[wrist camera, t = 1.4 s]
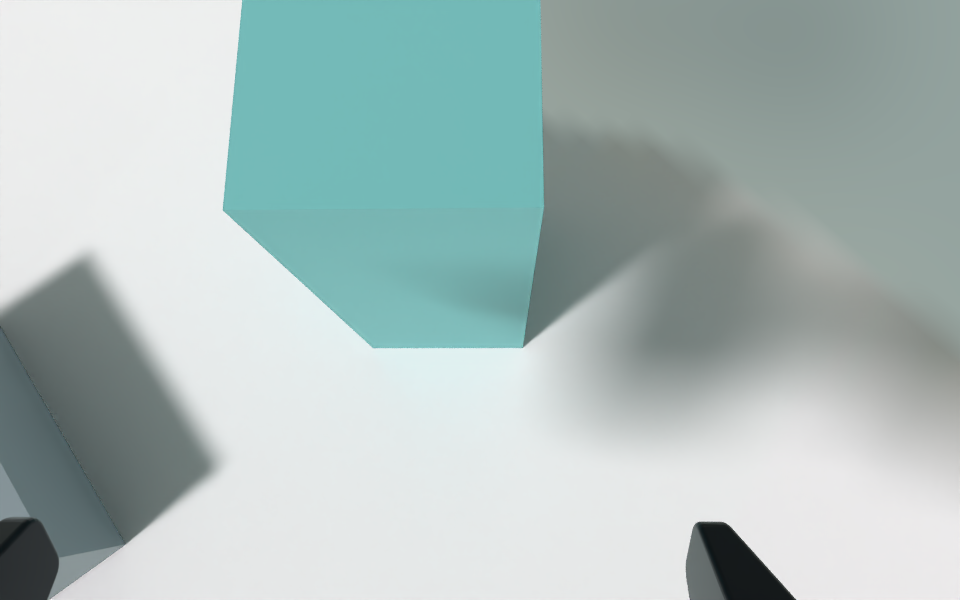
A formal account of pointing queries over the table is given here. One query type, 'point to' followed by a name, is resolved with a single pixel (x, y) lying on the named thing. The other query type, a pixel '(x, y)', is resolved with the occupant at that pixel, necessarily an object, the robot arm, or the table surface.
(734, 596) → the robot arm
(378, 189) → the teal block
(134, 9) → the table surface
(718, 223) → the table surface
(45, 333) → the table surface
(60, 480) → the base brick
